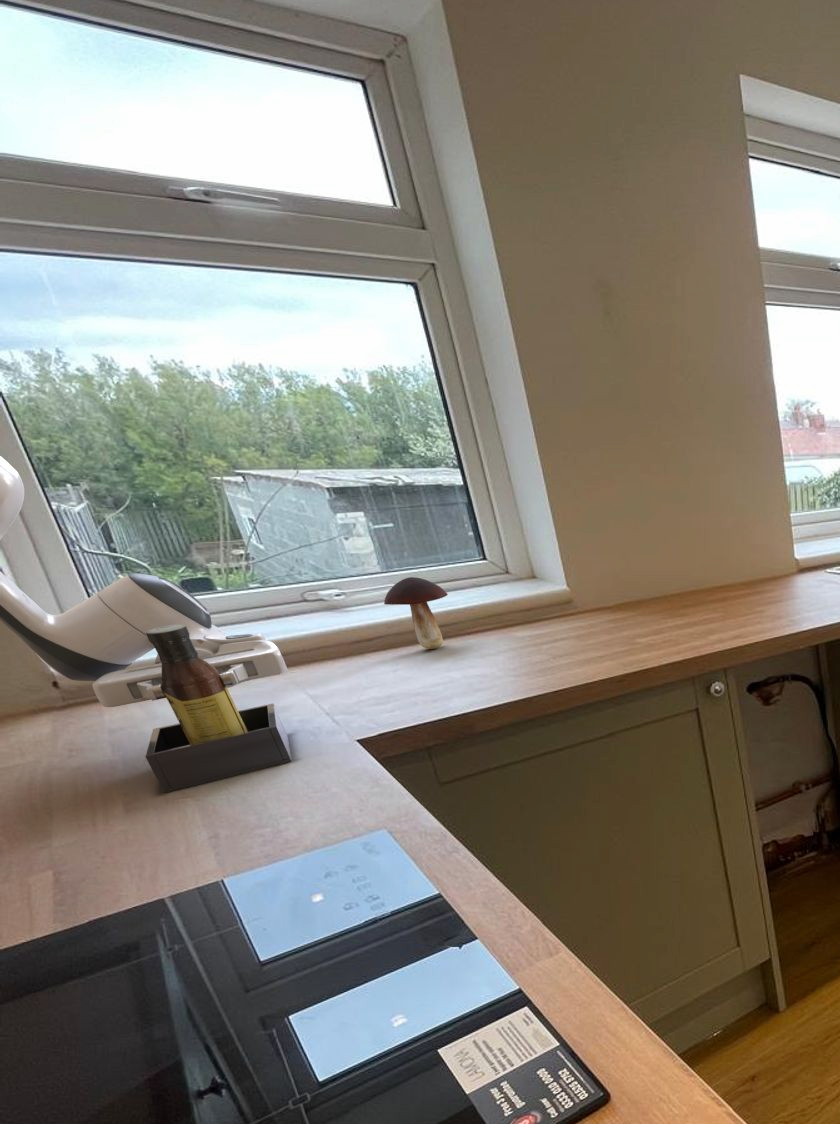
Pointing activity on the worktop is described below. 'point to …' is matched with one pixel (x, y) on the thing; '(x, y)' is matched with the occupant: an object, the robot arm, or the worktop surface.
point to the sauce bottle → (194, 687)
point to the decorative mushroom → (419, 607)
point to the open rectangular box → (218, 751)
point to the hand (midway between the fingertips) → (193, 686)
